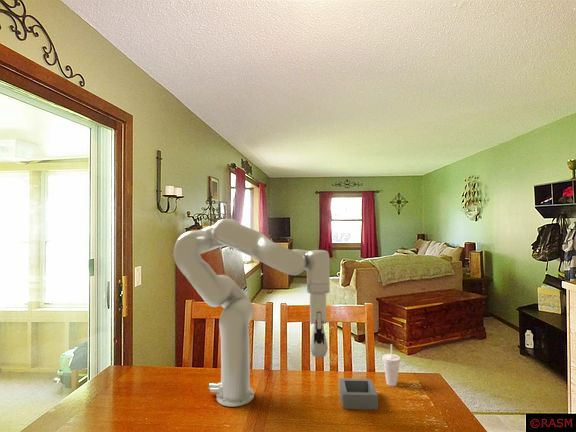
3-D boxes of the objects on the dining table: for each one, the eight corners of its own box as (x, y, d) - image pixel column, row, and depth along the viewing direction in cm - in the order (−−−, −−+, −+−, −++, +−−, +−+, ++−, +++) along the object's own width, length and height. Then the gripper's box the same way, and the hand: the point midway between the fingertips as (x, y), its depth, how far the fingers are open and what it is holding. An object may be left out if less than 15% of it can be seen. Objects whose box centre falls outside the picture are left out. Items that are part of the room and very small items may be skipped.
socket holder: (342, 408, 110) (342, 394, 110) (339, 391, 121) (339, 378, 121) (378, 409, 109) (377, 395, 109) (371, 392, 120) (371, 379, 120)
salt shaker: (326, 359, 111) (326, 319, 111) (309, 358, 112) (308, 318, 112) (328, 352, 117) (328, 314, 117) (311, 351, 118) (311, 313, 118)
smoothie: (401, 381, 128) (401, 343, 128) (399, 389, 122) (399, 349, 122) (383, 378, 130) (383, 341, 131) (381, 385, 125) (380, 346, 125)
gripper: (306, 282, 123) (307, 334, 123) (307, 292, 107) (307, 352, 107) (328, 282, 123) (328, 334, 123) (331, 292, 106) (332, 352, 106)
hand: (318, 342), depth 115 cm, fingers closed on salt shaker, 3 cm apart
